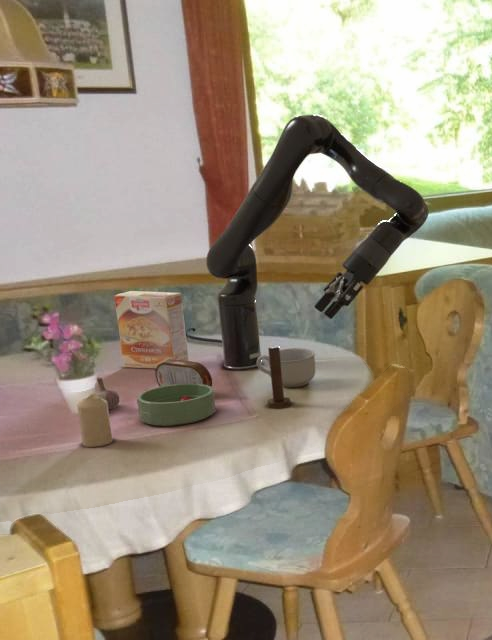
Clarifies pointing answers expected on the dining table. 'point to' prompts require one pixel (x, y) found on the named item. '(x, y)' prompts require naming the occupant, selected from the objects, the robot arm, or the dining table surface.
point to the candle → (94, 421)
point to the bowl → (176, 404)
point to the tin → (182, 373)
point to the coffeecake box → (151, 328)
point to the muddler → (276, 380)
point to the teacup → (293, 366)
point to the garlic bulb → (107, 394)
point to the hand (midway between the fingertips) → (322, 313)
